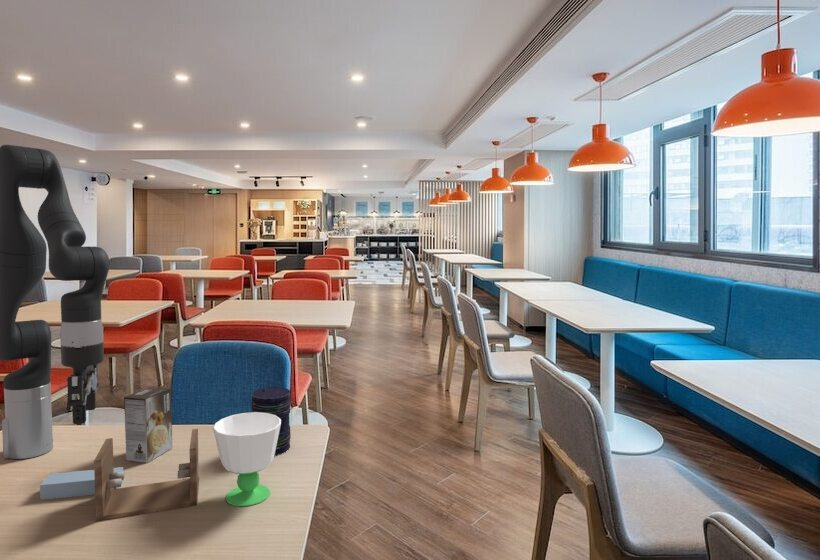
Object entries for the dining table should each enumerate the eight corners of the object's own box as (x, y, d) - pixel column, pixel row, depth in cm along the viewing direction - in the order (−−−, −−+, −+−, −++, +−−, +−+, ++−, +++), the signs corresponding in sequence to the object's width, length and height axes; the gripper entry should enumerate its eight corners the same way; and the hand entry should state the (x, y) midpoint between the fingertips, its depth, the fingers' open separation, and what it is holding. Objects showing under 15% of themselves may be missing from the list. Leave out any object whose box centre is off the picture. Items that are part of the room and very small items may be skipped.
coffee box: (151, 445, 129) (150, 385, 128) (173, 448, 128) (172, 387, 127) (124, 460, 120) (123, 396, 119) (147, 463, 119) (146, 398, 118)
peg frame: (95, 521, 95) (93, 460, 94) (107, 493, 105) (105, 438, 104) (197, 504, 101) (196, 448, 100) (199, 480, 111) (198, 428, 111)
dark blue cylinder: (298, 446, 131) (298, 391, 130) (269, 460, 122) (269, 401, 121) (272, 437, 136) (272, 384, 135) (243, 450, 128) (242, 393, 127)
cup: (293, 486, 110) (293, 416, 108) (255, 518, 97) (255, 440, 95) (242, 475, 114) (241, 408, 113) (199, 505, 101) (198, 430, 100)
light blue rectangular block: (40, 501, 102) (39, 485, 102) (51, 489, 107) (50, 473, 107) (116, 493, 106) (116, 477, 105) (123, 482, 111) (123, 467, 110)
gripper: (70, 336, 109) (73, 407, 110) (50, 349, 96) (53, 430, 97) (109, 334, 112) (111, 404, 113) (95, 347, 99) (97, 426, 100)
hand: (84, 416), depth 105 cm, fingers open, 8 cm apart
